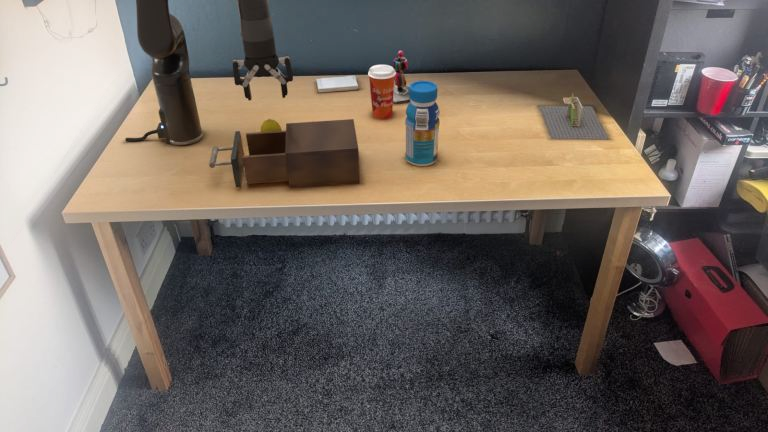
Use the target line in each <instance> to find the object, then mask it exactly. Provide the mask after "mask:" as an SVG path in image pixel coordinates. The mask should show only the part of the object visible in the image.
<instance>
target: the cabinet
mask: <svg viewBox="0 0 768 432" xmlns="http://www.w3.org/2000/svg"><path fill="white" fill-rule="evenodd" d="M285 131H286V146H285V155H286V163H287V171H288V179H289V181H288V186H289V189H290V190H291V189H302V188H303V189H304V188H305V189H306V188H313V187H314V188H317V187H319V188H320V187H330V186H331V187H332V186H342V185H343V186H345V185H357V184H361V180H360V179H361V178H360V157H359V153H360V152H359V145H358V139H357V132H356V131H357V130H356V125H355V120H354V118H350V119H349V118H348V119H335V120H334V119H333V120H322V121H321V120H319V121H317V120H316V121H303V122H302V121H301V122H287V123H285Z"/></svg>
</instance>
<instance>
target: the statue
mask: <svg viewBox="0 0 768 432" xmlns="http://www.w3.org/2000/svg"><path fill="white" fill-rule="evenodd" d="M397 56H398V57H395V58H394V59H393V61H392V65H393V66H392V67H393V68H394V69H395V72H396V74H395V76H394V92H393V105H396V104H397V105H398V104H405V103H410V99H409V86H410V84H409V85H407V80H406V75H405V72H404V70H408V68H409V59H408V58H406V57H405V56H404V51H403V50H399V51H398V52H397Z"/></svg>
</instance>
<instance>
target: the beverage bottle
mask: <svg viewBox="0 0 768 432" xmlns="http://www.w3.org/2000/svg"><path fill="white" fill-rule="evenodd" d="M409 85H410V86H409V99H410V101H409V102H408V104H407V105H406V109H405V115H406V117H405V121H404V125H405V160H406V162H408V163H409V164H411V165H413V166H417V167H428V166H432V165H433V164H434V163H436V162H437V160H438V154H439V153H438V149H439V133H440V132H439V131H440V130H439V129H440V124H441V122H440V118H439V116H440V113H441V112H440V108H439V105H438V103H437V102H436V101H437V99H438V85H437V84H436V83H435V82H433V81H430V80H417V81H413V82H411V83H410V84H409Z"/></svg>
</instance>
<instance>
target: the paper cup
mask: <svg viewBox="0 0 768 432" xmlns="http://www.w3.org/2000/svg"><path fill="white" fill-rule="evenodd" d="M395 71H396V70H395V69H394V66H391V65H389V64H375V65H372V66H371V67H369V69H368V72H367V76H368V79H369V90H370V91H369V92H370V100H371V110H372V112H371V113H372V116H373V118H374V119H376V120H387V119H391V118H392V116H393V108H394V107H393V106H394V101H393V92H394V87H395V81H394V76H395V74H396V72H395Z"/></svg>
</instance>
